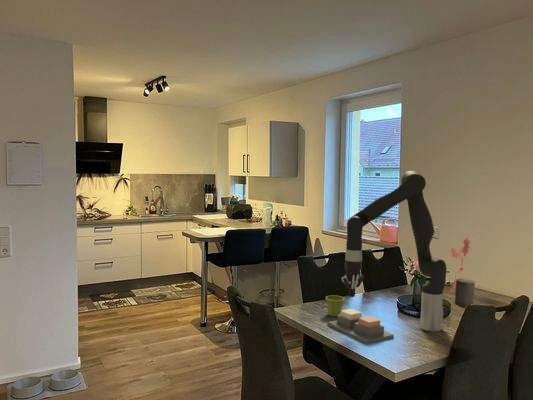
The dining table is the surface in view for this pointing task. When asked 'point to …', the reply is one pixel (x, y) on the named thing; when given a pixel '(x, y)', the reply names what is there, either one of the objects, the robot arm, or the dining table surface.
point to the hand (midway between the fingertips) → (351, 296)
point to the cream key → (351, 314)
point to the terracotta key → (369, 322)
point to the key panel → (360, 330)
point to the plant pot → (334, 305)
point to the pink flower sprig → (455, 254)
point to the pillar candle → (464, 292)
